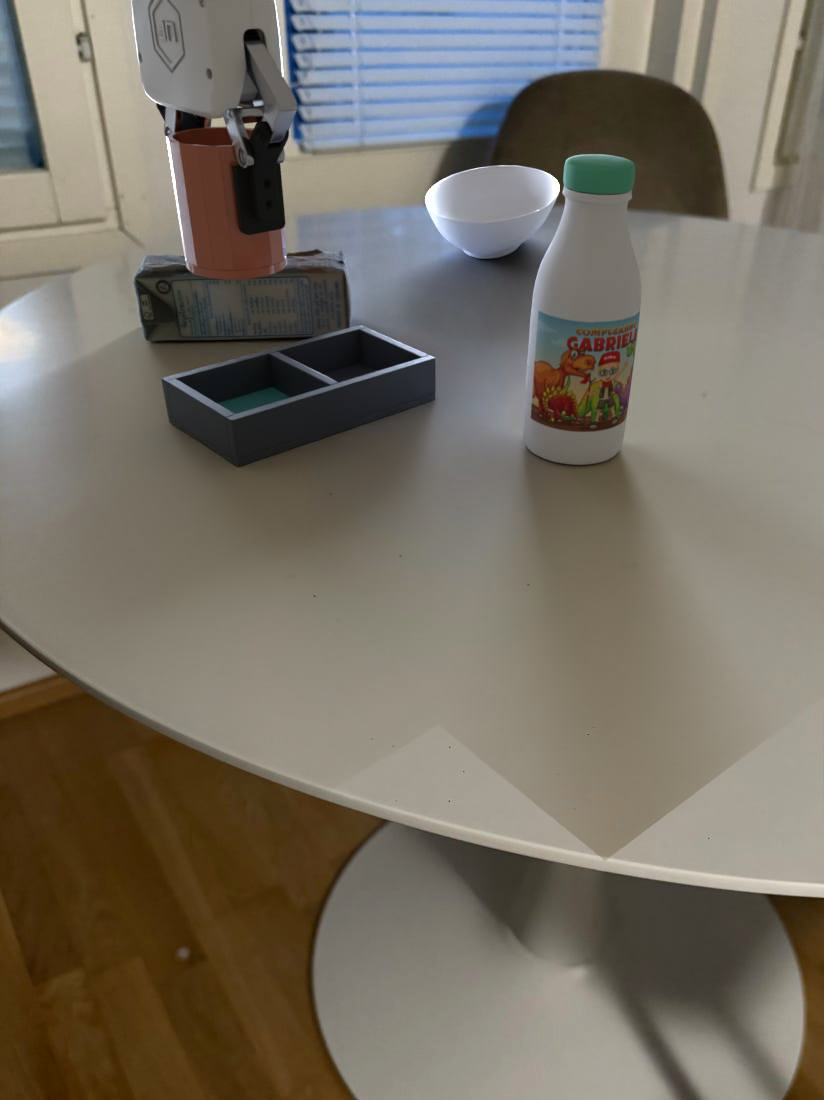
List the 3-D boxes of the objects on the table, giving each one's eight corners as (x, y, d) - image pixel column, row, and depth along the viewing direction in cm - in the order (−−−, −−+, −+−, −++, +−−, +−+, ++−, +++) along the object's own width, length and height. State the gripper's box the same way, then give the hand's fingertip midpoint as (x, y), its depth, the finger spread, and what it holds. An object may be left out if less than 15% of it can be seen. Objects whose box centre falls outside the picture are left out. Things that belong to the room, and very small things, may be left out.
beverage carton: (153, 315, 93) (141, 244, 89) (351, 313, 96) (348, 244, 92) (142, 344, 87) (129, 270, 83) (354, 341, 90) (351, 269, 86)
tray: (168, 422, 74) (161, 377, 72) (362, 364, 85) (360, 324, 83) (237, 467, 69) (231, 420, 67) (435, 399, 79) (435, 357, 77)
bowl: (461, 210, 130) (462, 161, 127) (570, 220, 128) (574, 170, 124) (399, 272, 107) (398, 215, 103) (530, 286, 105) (534, 227, 101)
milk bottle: (501, 439, 74) (516, 154, 62) (572, 415, 78) (599, 143, 66) (571, 477, 69) (601, 177, 57) (643, 449, 73) (686, 164, 61)
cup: (168, 261, 66) (147, 133, 61) (252, 245, 70) (239, 123, 65) (220, 286, 62) (202, 150, 57) (306, 267, 66) (296, 138, 61)
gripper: (58, -123, 56) (118, 201, 67) (213, -121, 47) (254, 258, 57) (173, -117, 61) (213, 187, 71) (337, -114, 51) (354, 238, 62)
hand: (231, 216), depth 64 cm, fingers closed on cup, 6 cm apart
